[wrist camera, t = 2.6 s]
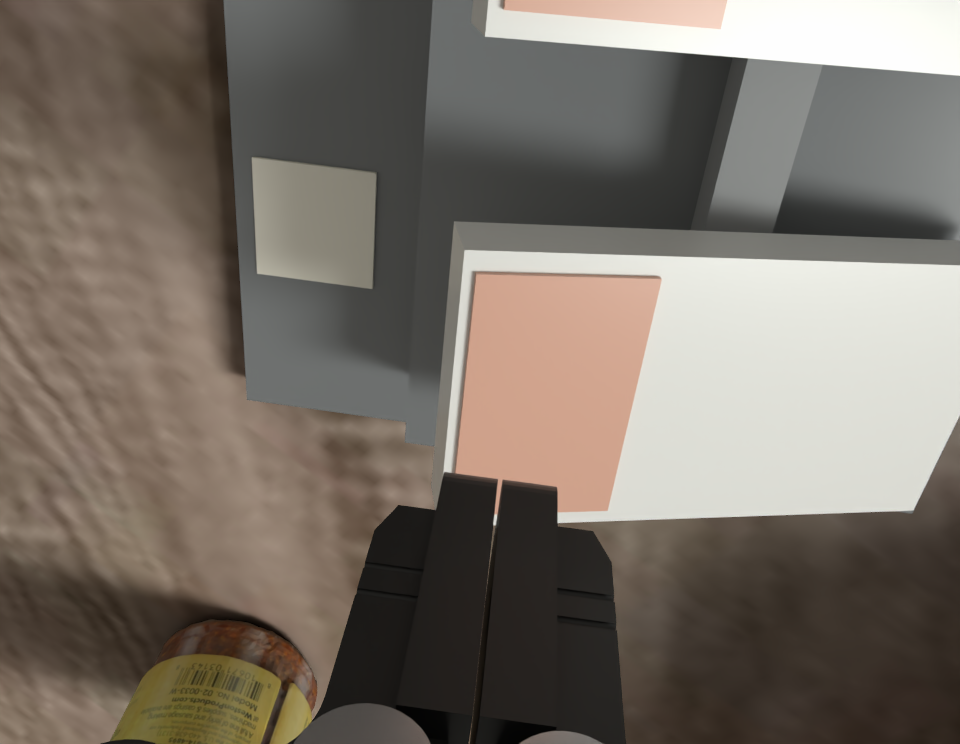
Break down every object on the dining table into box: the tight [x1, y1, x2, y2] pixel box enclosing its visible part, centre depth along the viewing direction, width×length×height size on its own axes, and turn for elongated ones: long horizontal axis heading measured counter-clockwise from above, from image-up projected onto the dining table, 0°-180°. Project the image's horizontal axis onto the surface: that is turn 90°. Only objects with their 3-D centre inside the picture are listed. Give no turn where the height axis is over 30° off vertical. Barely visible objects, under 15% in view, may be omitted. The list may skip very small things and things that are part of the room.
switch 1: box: [431, 221, 960, 525], centre depth 15 cm, size 10×6×1 cm, turn 84°
